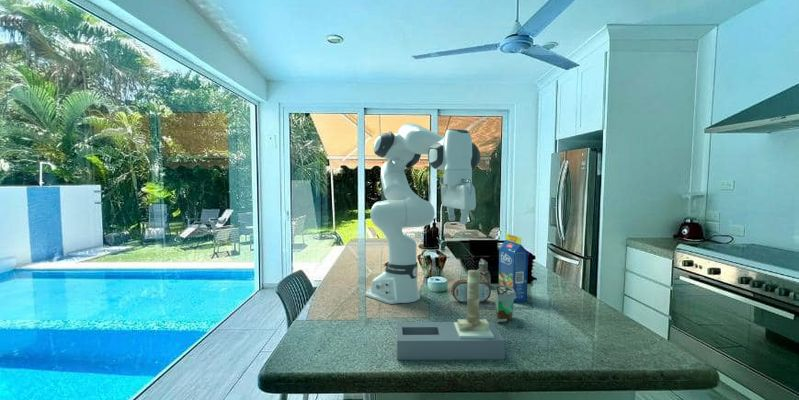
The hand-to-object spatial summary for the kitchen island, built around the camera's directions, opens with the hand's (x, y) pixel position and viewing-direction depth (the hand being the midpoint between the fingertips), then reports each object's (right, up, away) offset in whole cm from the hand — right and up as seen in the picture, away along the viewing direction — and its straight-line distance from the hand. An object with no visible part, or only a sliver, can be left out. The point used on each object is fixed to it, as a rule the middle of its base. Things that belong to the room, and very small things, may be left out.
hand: (457, 222), depth 113 cm
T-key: (+2, -28, -16) cm, 33 cm away
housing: (-5, -34, -16) cm, 38 cm away
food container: (+17, -33, +5) cm, 38 cm away
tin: (+9, -32, +22) cm, 40 cm away
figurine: (+18, -31, +42) cm, 56 cm away
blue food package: (+27, -32, +27) cm, 50 cm away
